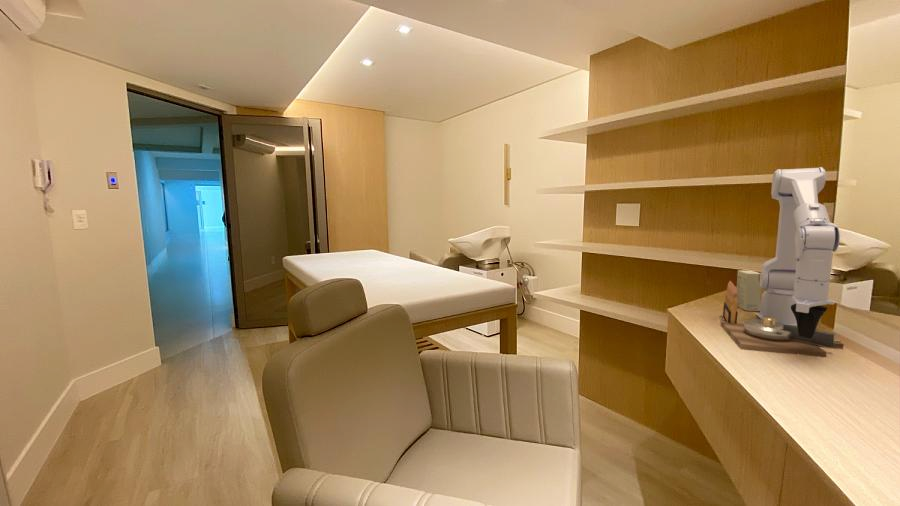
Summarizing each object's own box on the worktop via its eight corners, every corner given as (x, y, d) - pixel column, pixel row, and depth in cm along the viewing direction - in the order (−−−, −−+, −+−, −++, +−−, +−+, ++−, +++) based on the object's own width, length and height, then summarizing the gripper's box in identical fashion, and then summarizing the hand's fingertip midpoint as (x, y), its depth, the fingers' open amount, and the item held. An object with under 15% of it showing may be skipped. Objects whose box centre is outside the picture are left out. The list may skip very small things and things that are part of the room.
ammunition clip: (736, 329, 107) (740, 288, 105) (728, 328, 108) (732, 287, 106) (729, 318, 116) (733, 280, 115) (722, 317, 117) (726, 279, 115)
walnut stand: (720, 325, 110) (721, 320, 109) (820, 333, 101) (821, 328, 101) (741, 348, 93) (741, 343, 93) (862, 360, 85) (862, 354, 85)
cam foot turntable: (738, 332, 99) (739, 317, 98) (750, 324, 105) (751, 310, 104) (829, 352, 86) (831, 335, 85) (837, 341, 92) (839, 325, 91)
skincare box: (760, 311, 121) (764, 273, 119) (745, 311, 122) (748, 273, 120) (749, 305, 127) (752, 269, 125) (734, 305, 128) (737, 269, 126)
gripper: (830, 286, 78) (823, 349, 80) (842, 276, 87) (835, 333, 89) (786, 281, 84) (780, 340, 86) (801, 272, 93) (795, 326, 95)
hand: (805, 336), depth 88 cm, fingers closed
